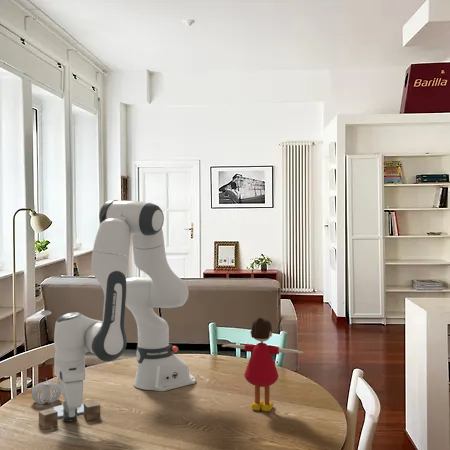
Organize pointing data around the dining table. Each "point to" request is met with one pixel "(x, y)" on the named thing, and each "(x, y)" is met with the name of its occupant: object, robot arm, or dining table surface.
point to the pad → (60, 410)
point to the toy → (261, 362)
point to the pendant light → (46, 385)
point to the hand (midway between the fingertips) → (70, 412)
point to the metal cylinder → (65, 413)
